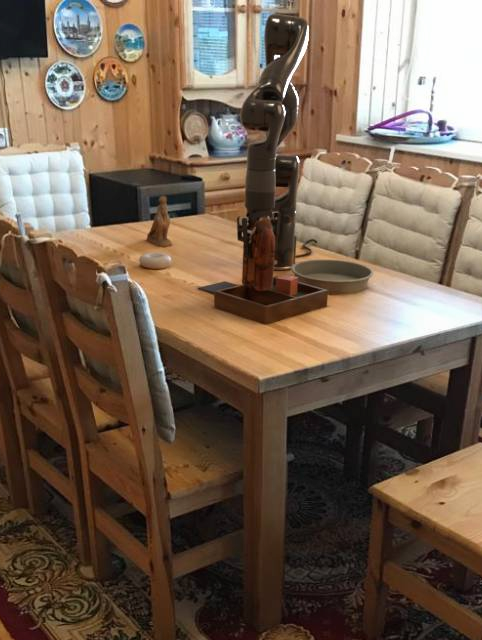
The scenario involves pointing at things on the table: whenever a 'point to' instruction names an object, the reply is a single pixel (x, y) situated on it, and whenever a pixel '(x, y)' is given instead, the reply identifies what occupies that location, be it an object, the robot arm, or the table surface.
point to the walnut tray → (269, 301)
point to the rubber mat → (216, 287)
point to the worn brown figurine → (160, 224)
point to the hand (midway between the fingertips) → (257, 255)
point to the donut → (155, 260)
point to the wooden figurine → (260, 258)
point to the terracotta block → (287, 284)
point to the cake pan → (333, 275)
